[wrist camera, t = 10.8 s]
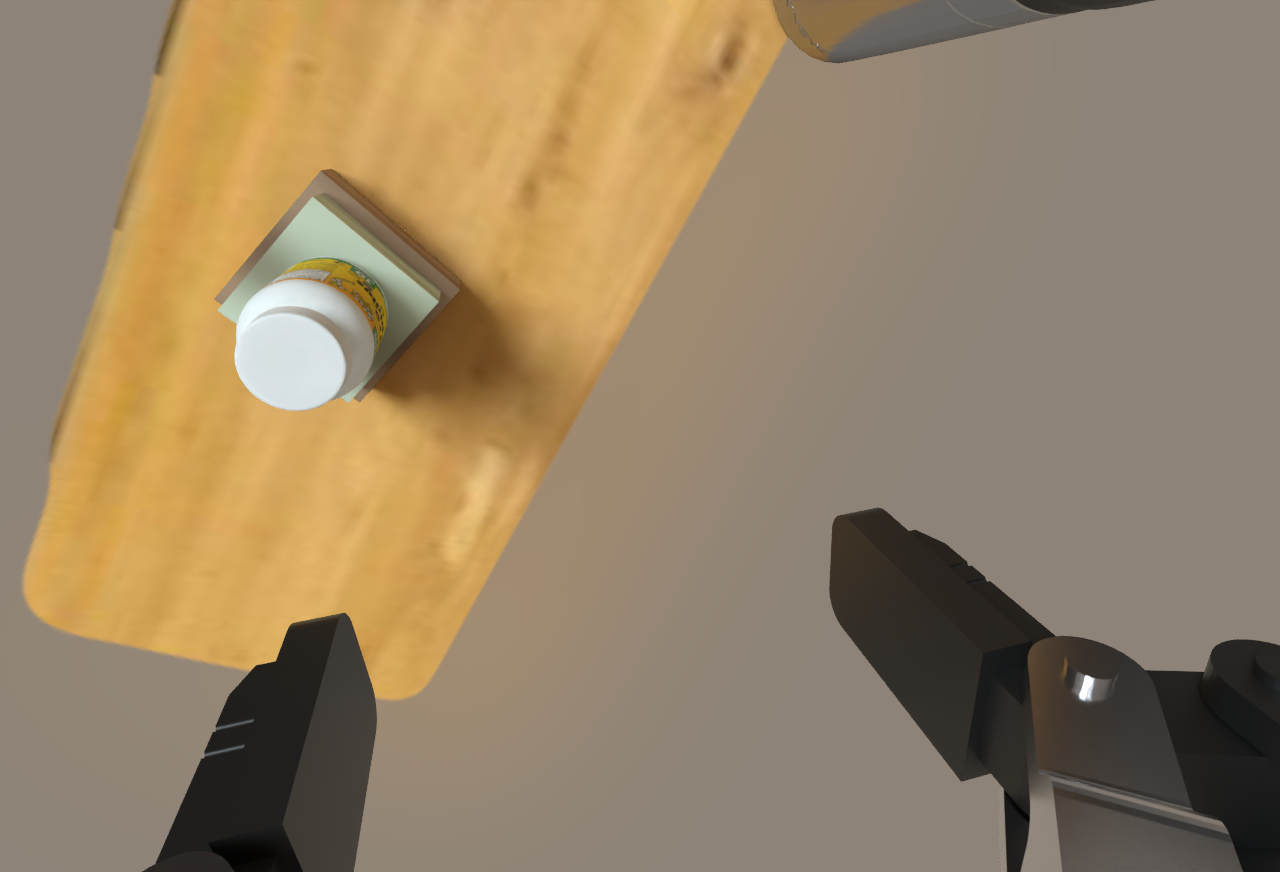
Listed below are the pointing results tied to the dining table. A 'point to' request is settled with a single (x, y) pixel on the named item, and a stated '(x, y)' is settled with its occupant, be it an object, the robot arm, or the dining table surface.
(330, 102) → the dining table surface
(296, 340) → the supplement bottle
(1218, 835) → the robot arm
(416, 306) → the stepped square pedestal
